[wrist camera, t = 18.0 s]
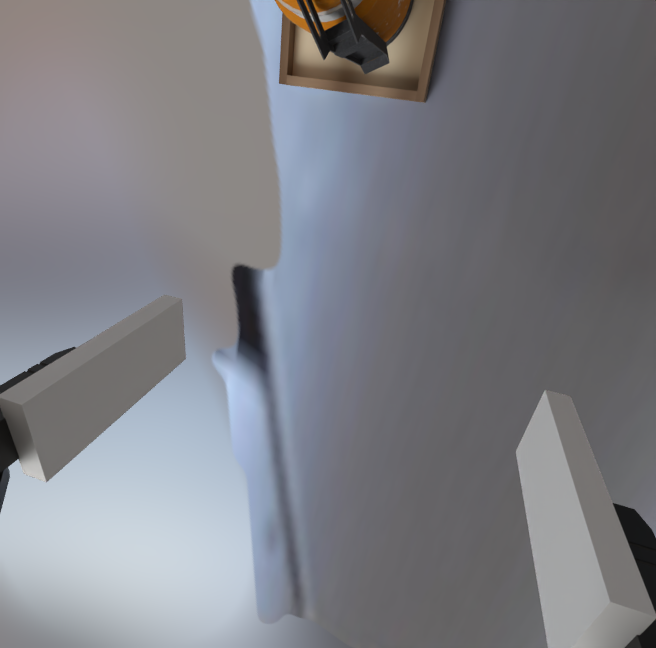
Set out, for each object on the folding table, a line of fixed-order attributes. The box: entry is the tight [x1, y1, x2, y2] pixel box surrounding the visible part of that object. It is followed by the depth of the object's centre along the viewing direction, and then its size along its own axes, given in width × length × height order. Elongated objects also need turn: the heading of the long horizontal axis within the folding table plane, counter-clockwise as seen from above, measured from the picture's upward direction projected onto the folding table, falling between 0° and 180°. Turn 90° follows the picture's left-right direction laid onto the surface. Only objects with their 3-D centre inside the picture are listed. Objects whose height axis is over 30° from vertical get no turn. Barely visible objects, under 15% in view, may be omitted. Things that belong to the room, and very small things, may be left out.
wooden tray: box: [279, 0, 446, 103], centre depth 37 cm, size 15×14×2 cm
